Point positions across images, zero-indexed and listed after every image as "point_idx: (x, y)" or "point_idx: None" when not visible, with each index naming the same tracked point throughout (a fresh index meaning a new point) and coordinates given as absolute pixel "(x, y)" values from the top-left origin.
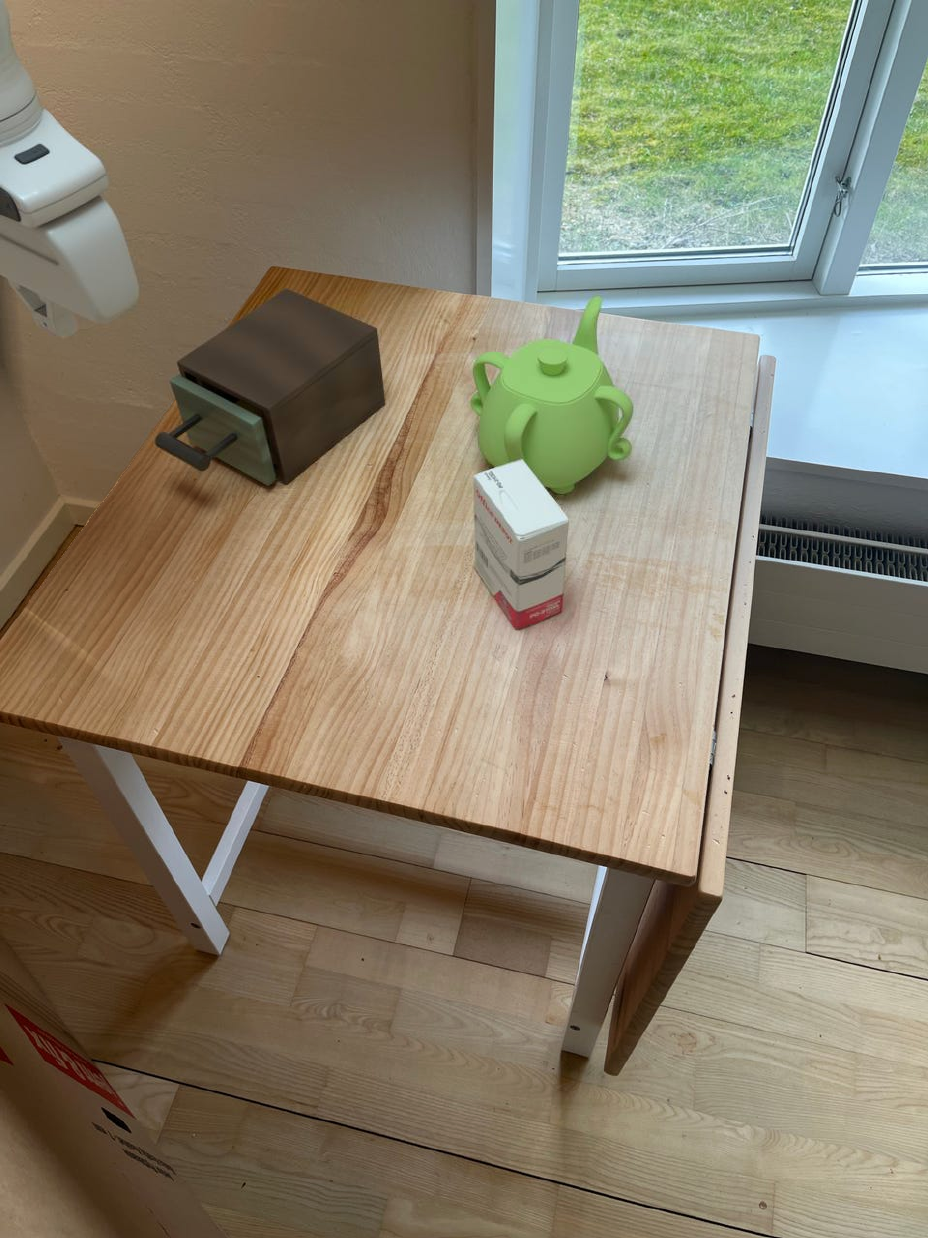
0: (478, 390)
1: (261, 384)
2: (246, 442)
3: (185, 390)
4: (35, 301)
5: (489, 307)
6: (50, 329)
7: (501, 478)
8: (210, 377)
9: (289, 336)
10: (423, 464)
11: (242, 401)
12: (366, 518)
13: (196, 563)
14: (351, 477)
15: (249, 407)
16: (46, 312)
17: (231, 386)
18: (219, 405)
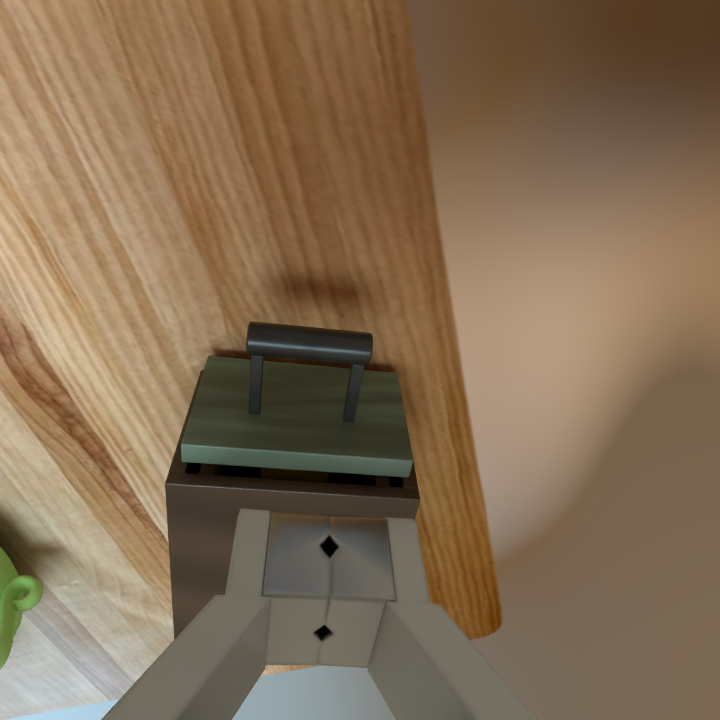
0: (2, 615)
1: (230, 518)
2: (224, 408)
3: (369, 455)
4: (399, 651)
5: None
6: (297, 531)
7: None
8: (329, 496)
9: None
10: (66, 479)
11: (320, 471)
12: (40, 370)
13: (191, 161)
14: (130, 422)
15: None
16: (319, 613)
17: (274, 495)
18: (276, 453)
